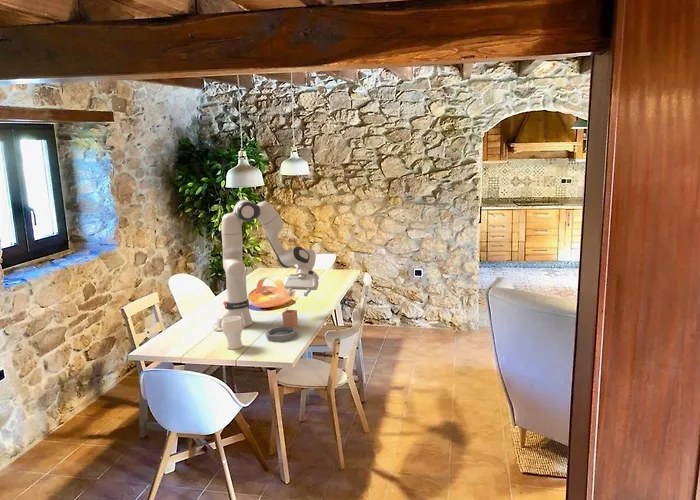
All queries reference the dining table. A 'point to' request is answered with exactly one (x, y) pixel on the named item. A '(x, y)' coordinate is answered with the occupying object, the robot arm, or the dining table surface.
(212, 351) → the dining table surface
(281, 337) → the dish
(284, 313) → the pot
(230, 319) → the cup
